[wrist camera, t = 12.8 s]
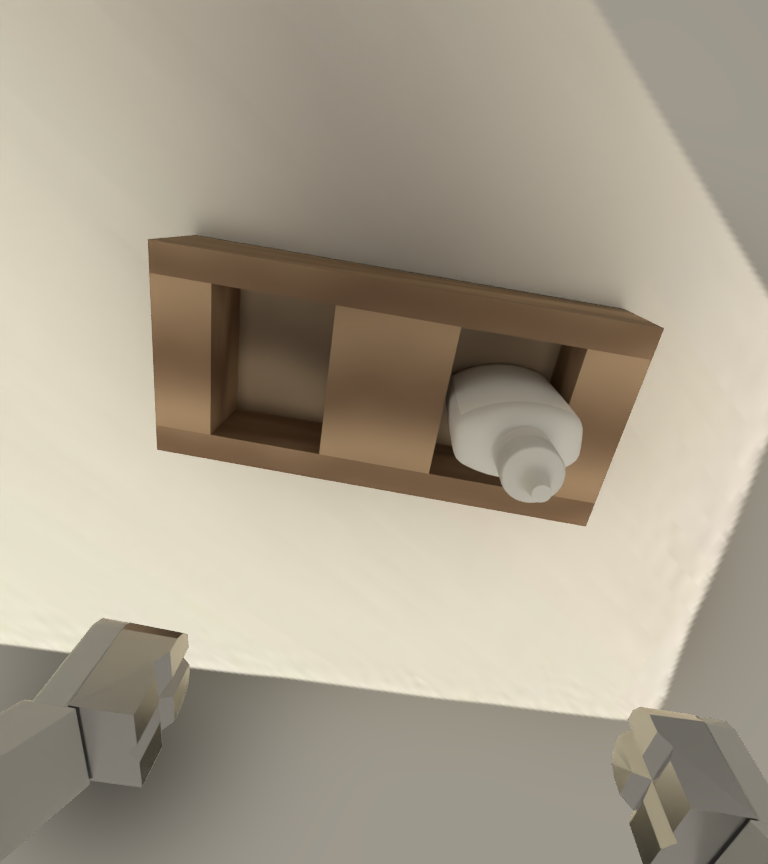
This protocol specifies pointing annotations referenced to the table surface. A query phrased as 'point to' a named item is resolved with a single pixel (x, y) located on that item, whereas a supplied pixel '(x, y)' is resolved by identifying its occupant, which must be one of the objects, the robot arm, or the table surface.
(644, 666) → the table surface
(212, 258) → the walnut slot rail
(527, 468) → the eye dropper bottle
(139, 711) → the robot arm
